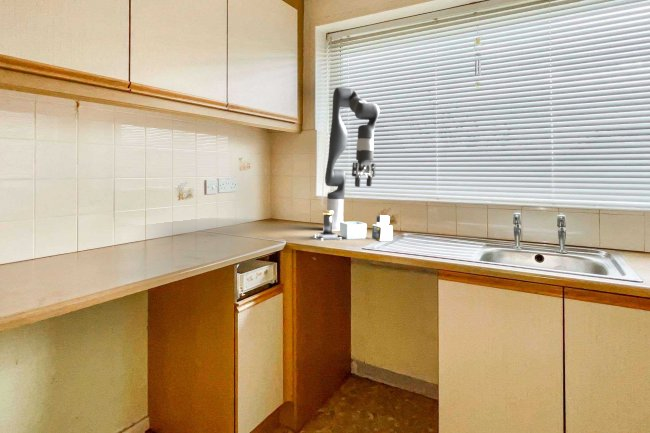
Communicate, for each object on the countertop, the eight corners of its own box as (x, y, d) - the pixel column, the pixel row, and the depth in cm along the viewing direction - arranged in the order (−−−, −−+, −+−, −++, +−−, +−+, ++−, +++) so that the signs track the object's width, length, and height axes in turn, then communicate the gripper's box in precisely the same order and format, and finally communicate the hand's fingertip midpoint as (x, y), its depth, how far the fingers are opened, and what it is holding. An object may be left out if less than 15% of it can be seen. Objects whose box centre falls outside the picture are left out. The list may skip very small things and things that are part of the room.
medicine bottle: (371, 239, 186) (372, 214, 185) (383, 238, 189) (384, 214, 188) (380, 241, 180) (381, 216, 179) (392, 240, 183) (393, 216, 182)
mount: (310, 238, 182) (311, 231, 181) (334, 237, 186) (334, 231, 186) (319, 243, 171) (319, 236, 170) (344, 242, 175) (344, 235, 174)
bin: (339, 238, 185) (339, 221, 184) (357, 237, 189) (358, 221, 188) (346, 241, 177) (347, 224, 176) (366, 240, 181) (366, 224, 180)
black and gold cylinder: (320, 237, 179) (321, 210, 178) (330, 236, 181) (331, 210, 180) (324, 238, 175) (325, 211, 174) (334, 238, 177) (335, 211, 175)
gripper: (367, 150, 176) (365, 185, 178) (348, 148, 165) (346, 186, 167) (381, 150, 171) (379, 186, 173) (362, 148, 160) (360, 187, 162)
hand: (363, 186), depth 170 cm, fingers open, 8 cm apart
